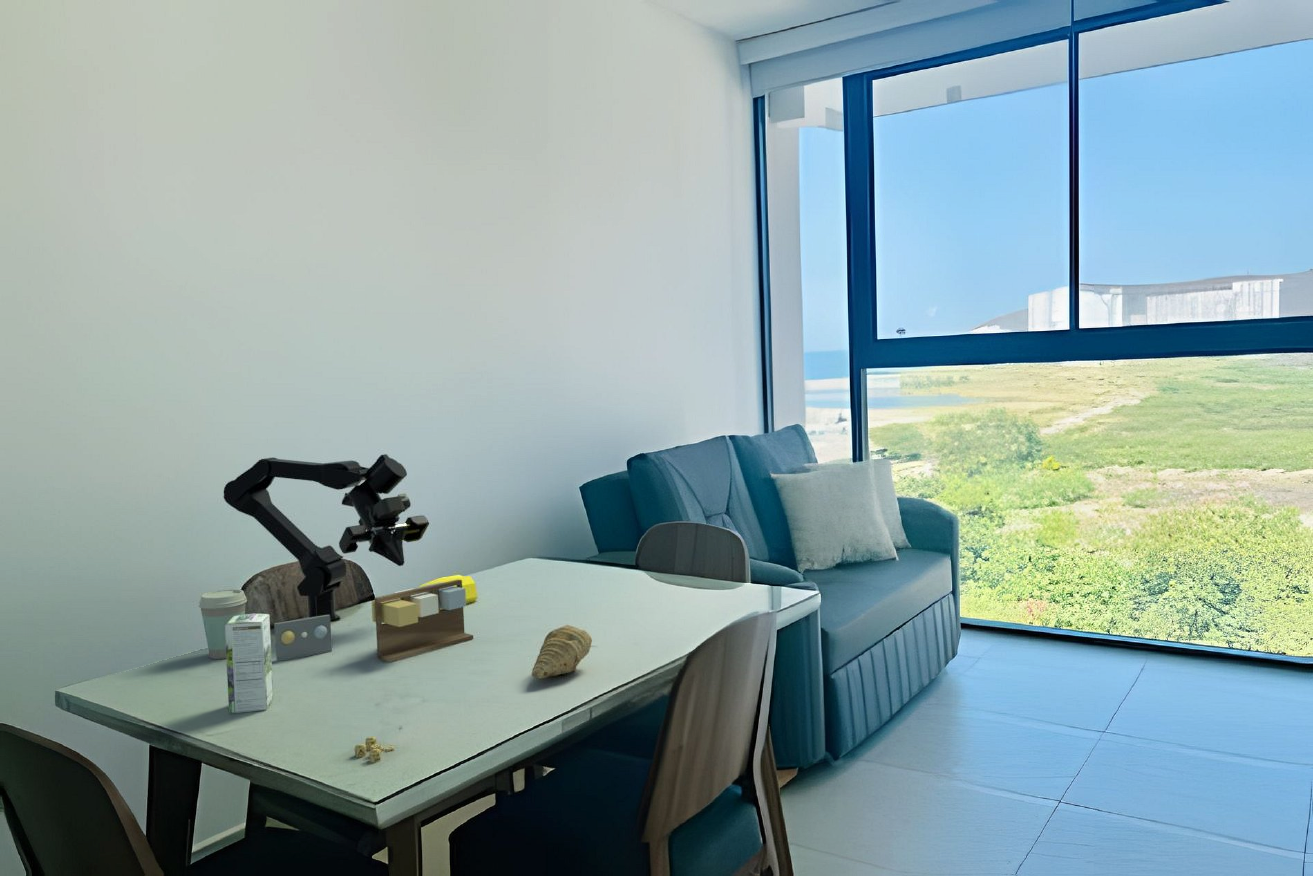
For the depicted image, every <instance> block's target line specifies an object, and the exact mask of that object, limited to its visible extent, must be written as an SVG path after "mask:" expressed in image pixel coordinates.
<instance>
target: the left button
mask: <svg viewBox="0 0 1313 876" xmlns="http://www.w3.org/2000/svg"><path fill="white" fill-rule="evenodd" d="M371 616H372V619H371V620H372V622H374V623H376V617H375V599H374V600H371ZM381 618H382V624H384V623H386V624H390V625H394V626H398V627H401V626H405V625H409V624H413V623H417V622H418V611H417V603H412V602H408V601H403V600H399V599H394V600H389V601H385V602H381Z"/></svg>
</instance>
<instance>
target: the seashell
mask: <svg viewBox="0 0 1313 876" xmlns="http://www.w3.org/2000/svg"><path fill="white" fill-rule="evenodd" d="M543 640H544V641H543V643H542V644H541V647H540V649H539V654H538V655H537V658H536V660H535V662H534V665H533V668H532V672H531V677H533V678H535V679H538V680H541V679H544V678H547V677H552V676H553V677H555V676H558V675H566V673H567V674H570V673H571V672H574V671H575V670H576V669H577V667H578V665H579V664H580V662H581V661H582V660H583V659H584V658H585V657H586V656H587V655H588V654H589V653H590V652H591V651H590V650H591V646H592V642H593V639H592V636H591V635H590V634H589V633H588V632H587V631H586V630H584V629H580V628H578V627H575V626H572V625H568V624H566V625H564V626H561V627H558V628H555V629H553V630H551V631H549V633H548V634H547V635H546V636H545V638H544V639H543Z"/></svg>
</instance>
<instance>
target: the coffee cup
mask: <svg viewBox="0 0 1313 876" xmlns="http://www.w3.org/2000/svg"><path fill="white" fill-rule="evenodd" d="M247 602H248V599H247V596H246V594H245V592H244V590H242V589H237V588H231V589H230V588H229V589H220V590H214V591H209V592H206V593H204V594H202V595H201V597H200V600H199V602H198V604H199V605H198V607H199V608H200V611H201V616H202V622H203V628H204V632H205V636H206V643H207V649H208V653H209V657H210V658H211V659H213V660H224V658H225V659H227V658H226V636H225V625H226V624H227V623H228V622H229V621H230V620H231V619H232V618H233V617H234V616H238V615H245V614H246V604H247Z"/></svg>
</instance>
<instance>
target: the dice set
mask: <svg viewBox="0 0 1313 876" xmlns="http://www.w3.org/2000/svg"><path fill="white" fill-rule="evenodd" d="M367 750H368V752H369V753H368V752H367ZM384 750H386V753H388V752H393V751H395V747H394V746H393V745H390V746H385V749H384V747H383V746H382V745H380V744H378V740H377V737H376V736H369V737H366V738H365V743H361V744H359V743H358V744H356V745H355V746H354V753H355V754H354V755H355V757H356V758H363V757H366V756H367V753H368V755H369V762H370V763H378V762H380V761H381V760H382V754H381V753H382V752H383V751H384Z"/></svg>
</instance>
